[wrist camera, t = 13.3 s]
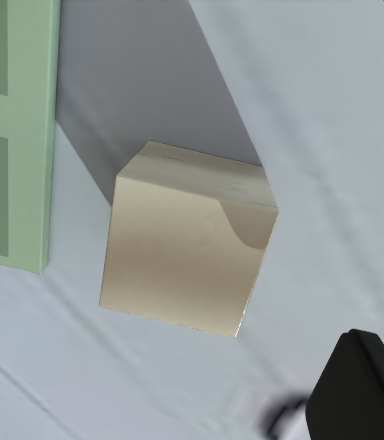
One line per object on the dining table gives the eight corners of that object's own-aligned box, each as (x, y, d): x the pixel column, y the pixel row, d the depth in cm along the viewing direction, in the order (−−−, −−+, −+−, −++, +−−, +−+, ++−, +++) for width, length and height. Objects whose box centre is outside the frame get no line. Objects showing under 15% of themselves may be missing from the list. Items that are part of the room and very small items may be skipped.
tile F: (148, 139, 15) (114, 174, 11) (264, 167, 15) (280, 213, 11) (131, 241, 17) (98, 307, 13) (233, 265, 17) (236, 339, 13)
